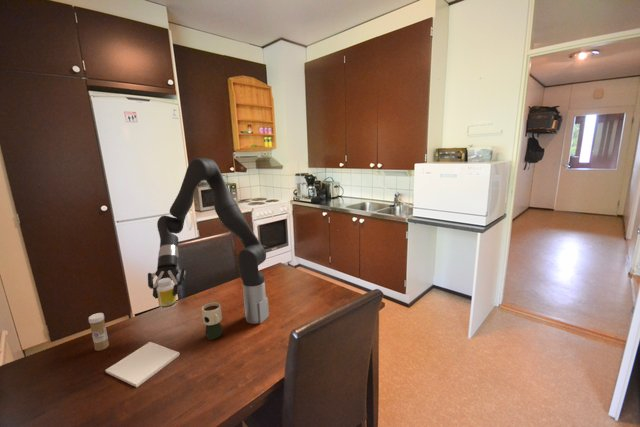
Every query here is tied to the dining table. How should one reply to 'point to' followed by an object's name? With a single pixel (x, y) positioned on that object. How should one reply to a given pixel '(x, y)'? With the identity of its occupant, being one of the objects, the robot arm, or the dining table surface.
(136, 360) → the ceramic tile
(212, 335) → the character mug
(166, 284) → the pill bottle
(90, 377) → the dining table surface
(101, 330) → the sprinkles bottle
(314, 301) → the dining table surface
